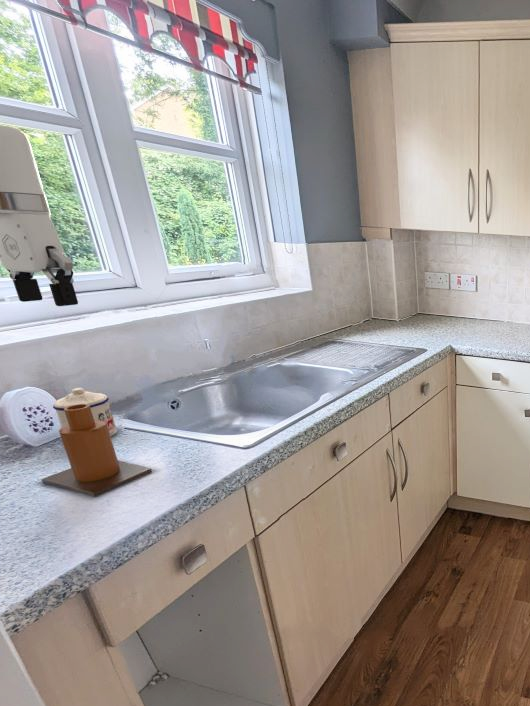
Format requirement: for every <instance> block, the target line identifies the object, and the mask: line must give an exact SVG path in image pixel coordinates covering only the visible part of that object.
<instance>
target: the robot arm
mask: <svg viewBox="0 0 530 706" xmlns="http://www.w3.org/2000/svg"><path fill="white" fill-rule="evenodd" d="M51 216H52V213H51V210H50V206H49V203H48V200H47V196H46V193H45V190H44V186H43V183H42V179H41V177H40V173H39V169H38V165H37V163H36V159H35V156H34V152H33V149H32V145H31V142H30V140H29V137H28V136H27V135H26V133H25V132H23V131H22V130H20V129H18V128H15V127H12V126H7V125H3V124H0V264H1V266H2V267H3V268H5V270H6V271H7V272H8V273H9V274H8V275H9V278H10V279H11V280H12V282H13V286H14V288H15V291H16V294H17V297H18V300H19V301H20V302H22V303H25V302H38V301H43V295H42V291H41V289H40V286H39V283H38V279H37V278H34V274H36V273H40V272H42V273H43V274H44V275H45V276H46V278H48V280H49V281H50V282H51V283H49V289H50V291H51V295H52V298H53V302H54V304H55V306H57V307H68V306H75V305H78V304H79V301H78V300H79V299H78V296H77V294H76V290H75V287H74V282H75V281H74V278H73V276H74V271H73V266H74V265H73V264H74V263H73V260H72V259H71V258H70V257H69V256H67V255H66V254H65V251H64V247H63V244H62V242H61V239H60V237H59V233H58V231H57V229H56V226H55V225H54V222H53V220H52V218H51Z"/></svg>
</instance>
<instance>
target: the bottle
mask: <svg viewBox="0 0 530 706" xmlns="http://www.w3.org/2000/svg"><path fill="white" fill-rule="evenodd" d="M64 411H65V414H66V417H67V420H68V423H69V425H67V426H65V427H63V428H62V427H61V428H60V429H58V433H59V435H60V439H61V441H62V444H63V447H64V451H65V453H66V456H67V459H68V461H69V465H70V468H72V471H73V474H74V476H75V479H76V480H77V481H80V482H90V481H96V480H101V479H104V478H107V477H110V476H112V475H114V474H116V473H117V472H118V471H119V470H120V468H119V463H118V461H119V460H118V456H117V453H116V450H115V447H114V443H113V440H112V436H111V437H110V433H109V430H108V427H107V423H106V422H105V421H101V420H94V418H93V415H92V411H91V408H90V405H89V404H76V405H71V406H68V407H66V408H64Z"/></svg>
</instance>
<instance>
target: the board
mask: <svg viewBox="0 0 530 706" xmlns="http://www.w3.org/2000/svg"><path fill="white" fill-rule="evenodd" d="M118 463H119V468H120V470H119V471H118V472H117V473H116V474H114V475H112V476H110V477H107V478H104V479H101V480H96V481H90V482H80V481H77V480H76V479H75V476H74V474H73V471H72V468H71V467H70V468H68V469H65V470H62V471H60V472H57V473H54V474H51V475H49V476H46V477H44V478H41V482H42V484H44V485H45V484H46V485H49V486H53V487H57V488H60V489H64V490H68V491H71V492H76V493H79V494H83V495H86V496H90V497H94V498H96V497H98V496H101V495H103V494H105V493H107V492H110V491H112V490H114V489H116V488H119V487H121V486H123V485H125V484H128V483H131V482H132V481H135V480H137V479H139V478H141V477H144V476H146V475H149V474H150V473H152V471H153V470H152V468H151V467H148V466H147V467H146V466H143V465H138V464H134V463H130V462H126V461H121V460H118Z"/></svg>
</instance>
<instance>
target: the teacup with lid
mask: <svg viewBox="0 0 530 706" xmlns="http://www.w3.org/2000/svg"><path fill="white" fill-rule="evenodd" d="M109 400H110V398H109V397H108V396H107V394H104V393H101V392H92V391H86V390H85V389H84V388H83V387H75V388H73V389H71V393H69V394H67V395H66V396H64V397H61V398H59V399H57V400H56V401H54V402H53V405H52V409H53V410H55V412H56V415H57V418H58V421H59V424H60V427H61V428H63V427H65V426H67V425H69V423H68V420H67V417H66V414H65V411H64V408H66V407H68V406H71V405H76V404H89V405H90V408H91V411H92V415H93V418H94V420H101V421H105V422H106V423H107V427H108V430H109V433H110V437H111V438H112V437H113V436H114V435H115V434H116V433H117V431H118V430H117V427H116V423H115V420H114V417H113V413H112V410H111V407H110V404H109Z"/></svg>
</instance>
